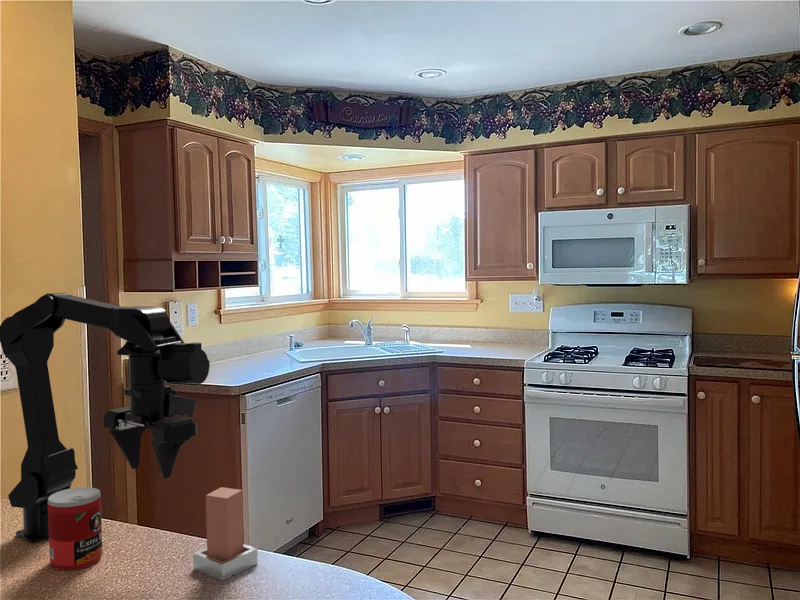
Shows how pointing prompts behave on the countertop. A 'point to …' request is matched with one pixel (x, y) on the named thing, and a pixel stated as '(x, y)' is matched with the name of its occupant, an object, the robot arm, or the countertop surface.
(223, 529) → the salmon brown rectangular block
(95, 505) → the canned food
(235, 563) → the gray square planter
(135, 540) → the countertop surface
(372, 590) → the countertop surface
